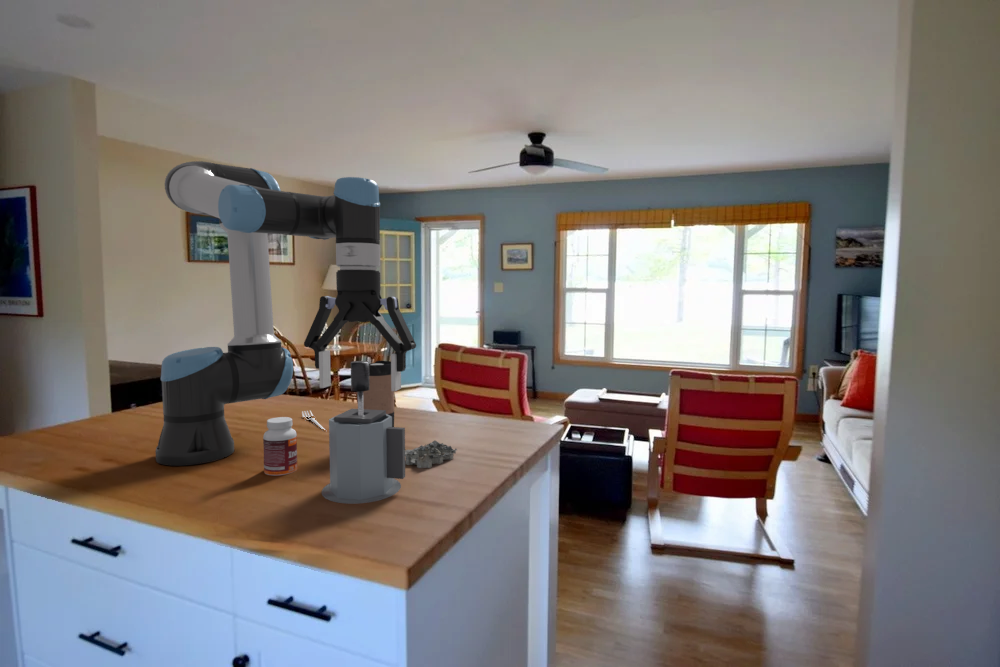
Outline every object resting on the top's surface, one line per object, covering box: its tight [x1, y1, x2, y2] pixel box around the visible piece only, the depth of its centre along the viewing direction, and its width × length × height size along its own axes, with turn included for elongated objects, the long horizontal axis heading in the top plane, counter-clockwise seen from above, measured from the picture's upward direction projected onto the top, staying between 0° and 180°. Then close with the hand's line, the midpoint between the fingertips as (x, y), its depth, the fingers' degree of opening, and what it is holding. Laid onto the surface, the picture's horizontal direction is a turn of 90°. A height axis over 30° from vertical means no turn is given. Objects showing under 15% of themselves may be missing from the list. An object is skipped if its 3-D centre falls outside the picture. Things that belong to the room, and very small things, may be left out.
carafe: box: [328, 408, 406, 500], centre depth 98 cm, size 13×10×14 cm
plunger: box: [350, 360, 370, 425], centre depth 98 cm, size 8×8×21 cm
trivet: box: [321, 478, 402, 505], centre depth 99 cm, size 14×14×1 cm
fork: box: [301, 410, 326, 430], centre depth 149 cm, size 3×20×2 cm, turn 33°
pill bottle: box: [262, 416, 298, 476], centre depth 108 cm, size 6×6×11 cm
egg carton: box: [405, 440, 458, 469], centre depth 115 cm, size 11×8×4 cm
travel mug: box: [363, 360, 395, 427], centre depth 125 cm, size 8×8×20 cm
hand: (360, 388), depth 98 cm, fingers open, 13 cm apart
